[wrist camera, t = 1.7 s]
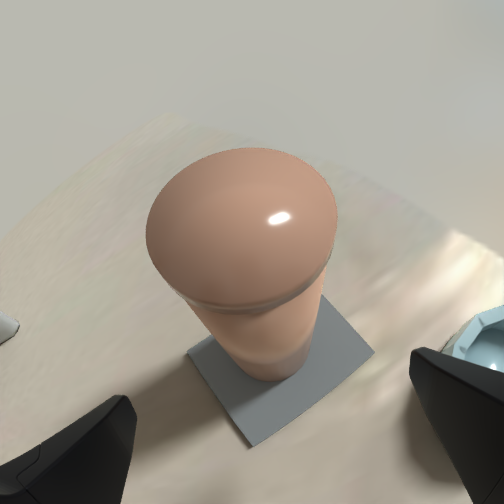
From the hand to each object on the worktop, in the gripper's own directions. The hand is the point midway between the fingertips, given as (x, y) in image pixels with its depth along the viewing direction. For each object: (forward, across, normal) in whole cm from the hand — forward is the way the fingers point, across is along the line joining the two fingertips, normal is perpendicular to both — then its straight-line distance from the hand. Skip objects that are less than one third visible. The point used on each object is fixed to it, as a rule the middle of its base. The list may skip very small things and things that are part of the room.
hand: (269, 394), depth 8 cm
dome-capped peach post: (+11, 0, +5) cm, 12 cm away
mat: (+11, 0, +6) cm, 12 cm away
